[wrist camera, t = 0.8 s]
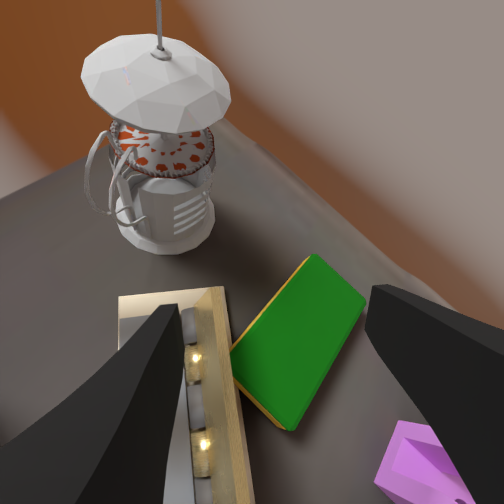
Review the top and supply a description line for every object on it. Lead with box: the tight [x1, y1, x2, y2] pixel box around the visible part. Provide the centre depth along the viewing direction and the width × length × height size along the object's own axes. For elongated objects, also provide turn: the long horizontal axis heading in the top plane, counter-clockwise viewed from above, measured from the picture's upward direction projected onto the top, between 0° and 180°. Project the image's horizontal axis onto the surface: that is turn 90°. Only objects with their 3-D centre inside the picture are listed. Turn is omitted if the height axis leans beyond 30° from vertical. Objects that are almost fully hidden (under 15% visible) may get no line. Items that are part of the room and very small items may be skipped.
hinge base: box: [118, 286, 255, 504], centre depth 19 cm, size 18×9×3 cm, turn 11°
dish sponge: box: [229, 254, 366, 431], centre depth 24 cm, size 7×14×2 cm, turn 139°
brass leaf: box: [184, 287, 251, 504], centre depth 18 cm, size 14×7×2 cm
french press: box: [81, 0, 231, 255], centre depth 16 cm, size 10×12×25 cm
